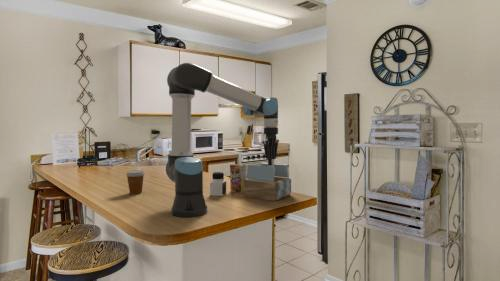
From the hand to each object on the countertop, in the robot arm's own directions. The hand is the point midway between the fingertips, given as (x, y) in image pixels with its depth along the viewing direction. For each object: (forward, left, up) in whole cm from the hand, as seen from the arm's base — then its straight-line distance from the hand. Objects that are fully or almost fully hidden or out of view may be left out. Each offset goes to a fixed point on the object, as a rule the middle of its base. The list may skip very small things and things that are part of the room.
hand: (271, 171), depth 175 cm
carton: (-3, 0, -13) cm, 13 cm away
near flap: (-11, 0, -4) cm, 12 cm away
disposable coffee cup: (-38, +64, -13) cm, 76 cm away
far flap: (+5, 0, -4) cm, 6 cm away
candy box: (-4, +19, -13) cm, 23 cm away
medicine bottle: (-15, +24, -13) cm, 31 cm away
